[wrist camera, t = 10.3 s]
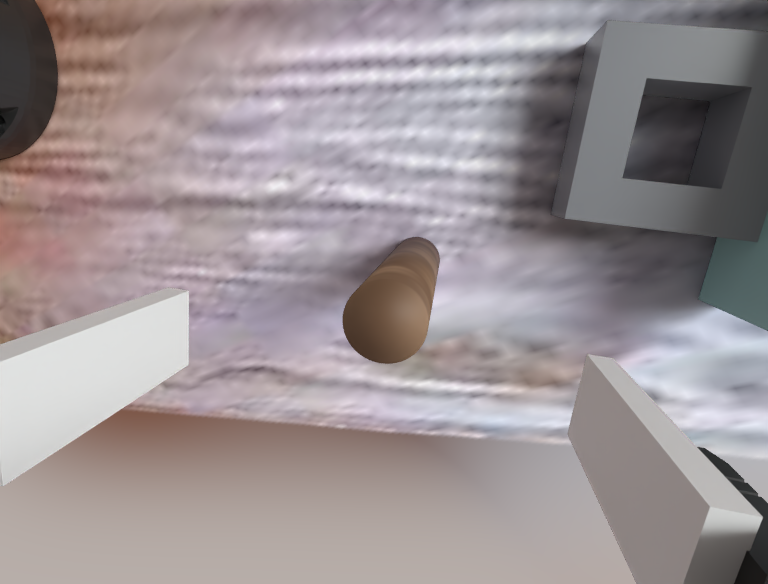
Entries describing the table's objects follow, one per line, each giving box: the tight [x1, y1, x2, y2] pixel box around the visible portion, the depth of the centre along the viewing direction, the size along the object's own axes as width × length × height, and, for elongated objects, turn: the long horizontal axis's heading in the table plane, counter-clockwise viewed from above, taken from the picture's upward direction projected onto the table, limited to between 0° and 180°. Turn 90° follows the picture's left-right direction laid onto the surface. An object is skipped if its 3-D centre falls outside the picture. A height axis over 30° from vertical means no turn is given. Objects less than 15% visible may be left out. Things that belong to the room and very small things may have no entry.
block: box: [551, 20, 768, 242], centre depth 27 cm, size 11×11×4 cm
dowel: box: [343, 237, 440, 364], centre depth 25 cm, size 4×4×16 cm
